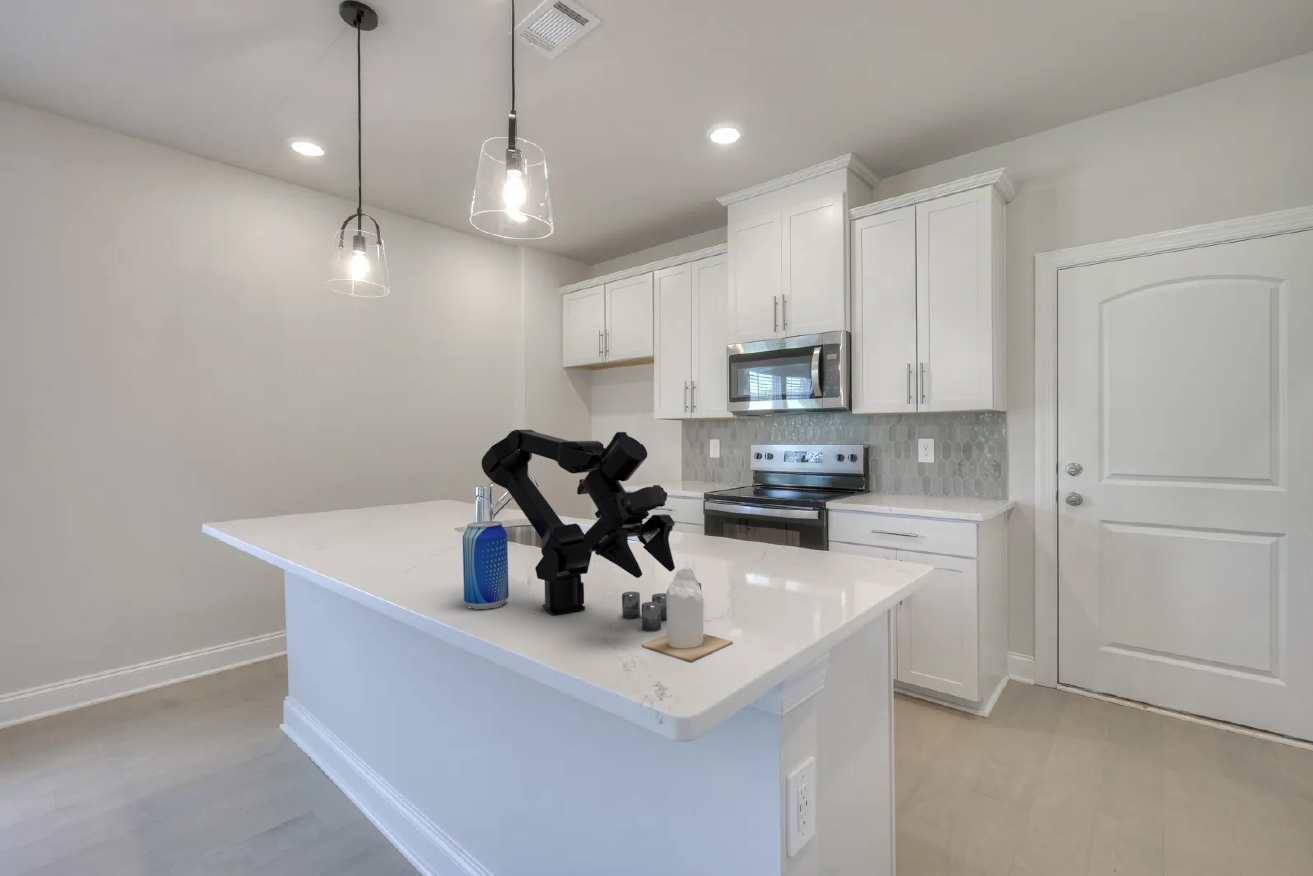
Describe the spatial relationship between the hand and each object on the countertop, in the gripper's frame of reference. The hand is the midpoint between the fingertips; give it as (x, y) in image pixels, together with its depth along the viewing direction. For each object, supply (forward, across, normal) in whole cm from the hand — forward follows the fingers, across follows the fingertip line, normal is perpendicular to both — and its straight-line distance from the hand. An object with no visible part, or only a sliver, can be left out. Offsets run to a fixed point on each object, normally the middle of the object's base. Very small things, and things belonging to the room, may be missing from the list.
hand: (657, 573), depth 97 cm
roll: (+12, -1, +2) cm, 12 cm away
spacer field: (+6, +9, +7) cm, 13 cm away
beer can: (-18, -3, +36) cm, 40 cm away
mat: (+12, -1, +2) cm, 12 cm away
